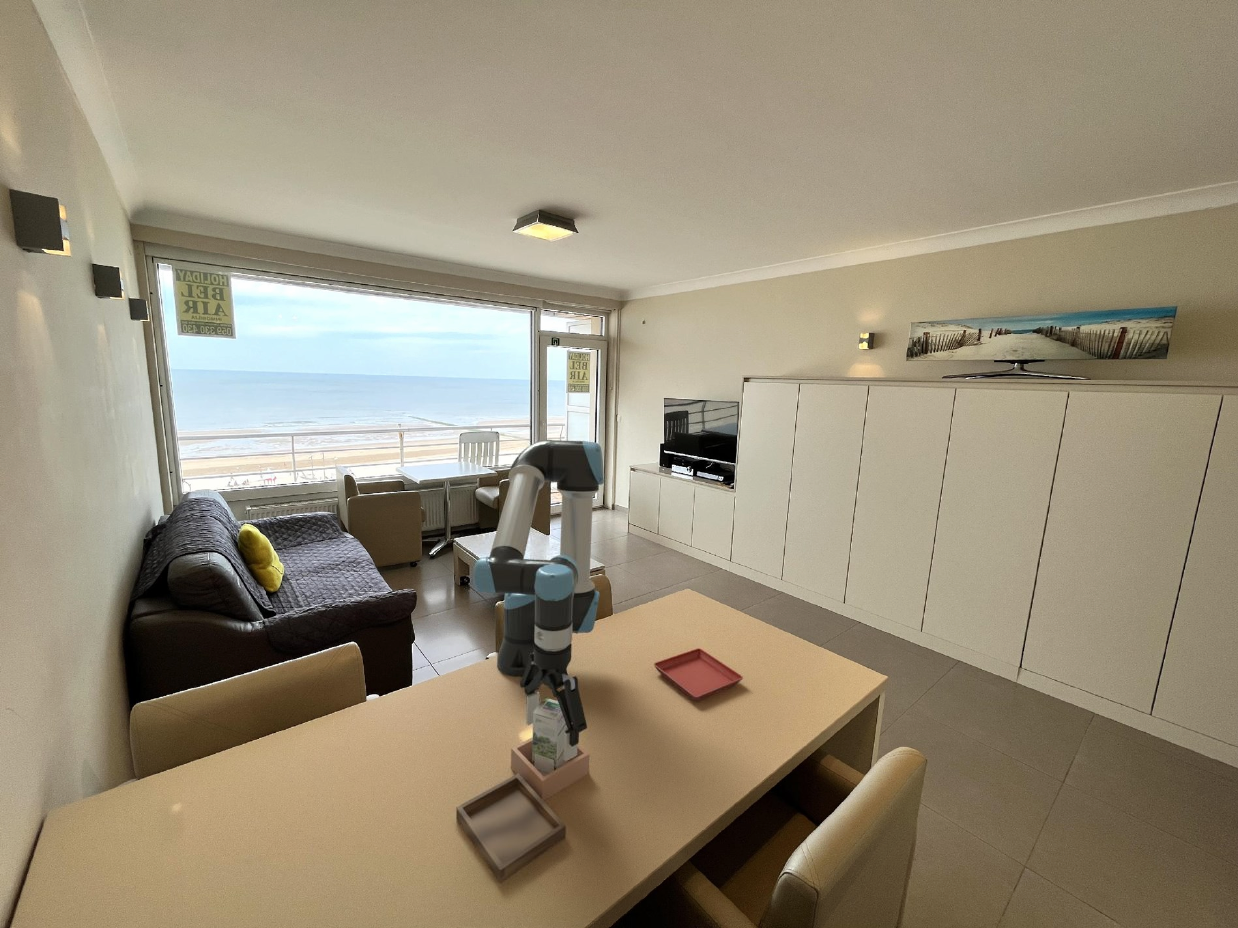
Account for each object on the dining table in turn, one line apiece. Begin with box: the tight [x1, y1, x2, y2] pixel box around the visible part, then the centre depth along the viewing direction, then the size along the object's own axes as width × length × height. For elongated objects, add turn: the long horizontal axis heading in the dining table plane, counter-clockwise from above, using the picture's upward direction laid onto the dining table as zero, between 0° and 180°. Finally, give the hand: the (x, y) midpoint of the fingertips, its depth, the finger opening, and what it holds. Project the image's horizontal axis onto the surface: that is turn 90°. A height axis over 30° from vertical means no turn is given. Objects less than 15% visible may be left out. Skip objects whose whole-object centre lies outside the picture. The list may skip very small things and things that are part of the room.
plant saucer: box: [653, 647, 744, 702], centre depth 141 cm, size 18×18×3 cm
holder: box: [510, 736, 591, 802], centre depth 105 cm, size 12×12×4 cm
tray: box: [455, 773, 567, 884], centre depth 91 cm, size 16×13×2 cm
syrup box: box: [531, 697, 568, 776], centre depth 105 cm, size 6×6×14 cm
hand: (550, 738), depth 105 cm, fingers open, 13 cm apart
